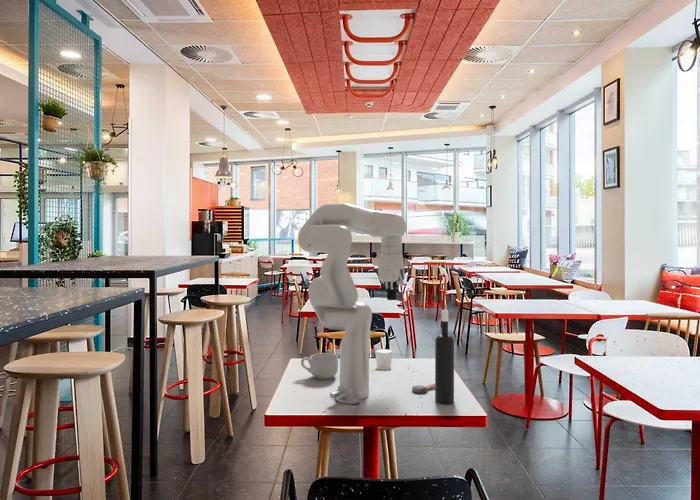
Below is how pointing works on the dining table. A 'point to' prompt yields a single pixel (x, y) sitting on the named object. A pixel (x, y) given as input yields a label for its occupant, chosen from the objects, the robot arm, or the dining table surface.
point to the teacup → (322, 365)
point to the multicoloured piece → (422, 388)
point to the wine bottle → (444, 364)
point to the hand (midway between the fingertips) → (391, 299)
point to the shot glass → (383, 359)
